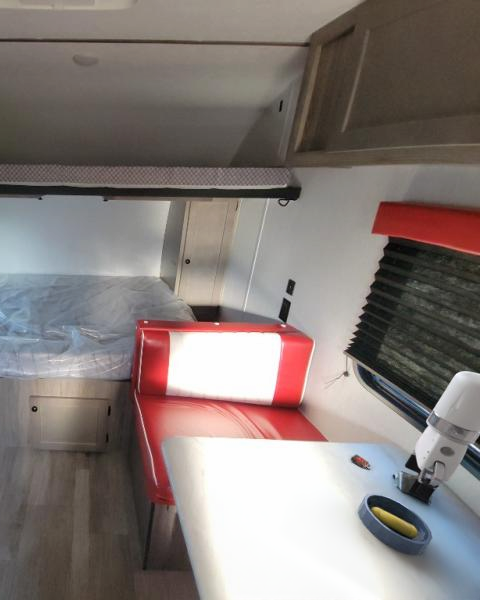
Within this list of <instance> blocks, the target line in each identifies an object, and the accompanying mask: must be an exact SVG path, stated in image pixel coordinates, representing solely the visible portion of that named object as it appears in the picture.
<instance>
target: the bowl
mask: <svg viewBox="0 0 480 600" xmlns="http://www.w3.org/2000/svg"><path fill="white" fill-rule="evenodd" d="M373 507H378V508H380V509H382V510H384V511H386V512H388V513H390V514H392V515H394V516H396V517H398V518H400V519H402V520H404V521H405V522H407V523H409V524H411V525H413V526H414V527H415V528H416V529H417V531H418V535H417V537H415V538H410V537H407V536H406V535H404V534H402V533H400V532H398V531H396V530H394V529H392V528H391V527H389V526H387V525H385V524H383V523H381V522H380V521H379V520H378V519H377V518H376V517H375V516H374V515H373V513H372V512H371V511H370V510H371V508H373ZM357 513H358V516H359V519H360V521H361V523H362V524H363V525H364V526H365V527H366V529H367V530H368V531H369V532H370V533H371V534H372V535H373V536H374V537H375V538H377V539H378V540H379V541H380V542H382V543H383V544H385V545H387V546H388V547H389V548H391V549H392V550H393V549H394V550H395V551H398V552H400V553H402V554H406V555H410V556H419V555H421V554H423V553H424V552H425V551H426V549H427V548H428V546H429V545H430V544H431V543H432V540H433V534H432V531H431V529H430V528H429V526H428V524H427V523H426V522H425V520H423V519H422V518H421V516H419V515H418V514H417V513H416V512H415V511H414V510H413V509H411V508H410V507H408V506H407V505H406V504H403V503H402V502H400V501H399V500H397V499H394V498H393V497H391V496H387V495H384V494H382V493H377V492H376V493H375V492H372V493H367V494H365V496H364V497H363V499H362V501H361V502H360V504H359V506H358V508H357Z"/></svg>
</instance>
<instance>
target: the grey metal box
mask: <svg viewBox="0 0 480 600" xmlns="http://www.w3.org/2000/svg"><path fill="white" fill-rule="evenodd" d="M419 476H420V474H419V473H417V475H416V474H412V473H408V472H405V471H402V470H395V473H394V474H392V477H393V478H394V482H395V487H396V488H399V490H400V491H401V492H403V493H407V494H410V493H409V488H410V487H411V485H412V484H413V482H414V481H415V479H416V478H417V479H419ZM425 478H431V476H430V475H429V474H426V475H425ZM432 495H433V494H432ZM432 495H431V497H430V498H429V499H428V501H426V502H427V503H428V504H429V505H431V504H432V497H433V496H432Z"/></svg>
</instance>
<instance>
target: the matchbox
mask: <svg viewBox="0 0 480 600" xmlns="http://www.w3.org/2000/svg"><path fill="white" fill-rule="evenodd" d="M350 460H351V461H352V462H353V463H355V464H357V465H358V466H360V467H361V468H366V467H367V465H368V466H370V465H369V464H371V462H370V461H368V460H367V459H365V458H364V457H362V456H361V455H359V454H357V453H356V454H354V455H353V456H351V458H350ZM367 470H370V469H369V468H368V469H367Z"/></svg>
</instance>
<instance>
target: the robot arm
mask: <svg viewBox="0 0 480 600" xmlns="http://www.w3.org/2000/svg"><path fill="white" fill-rule="evenodd" d="M425 422H426V424H427V427H426V428H425V429H424V431H423V433H422V434H421V435H420V437H419V438H418V440H417V442H416V443H415V445H414V446H415V447H414V449H413V451H412V453H411V454H410V456H409V458H408V459H407V460H406V462H405V464H404V468H405V469H408V470H410V471H412V472H414V473H417V474H418V473H419V474H420V476H419V479H417V478H416V479H415V481H414V482H413V484H412V485H411V487H410V488H409V493H408V494H410V495H413V496H414V497H417V498H419V499H421V500H423V501H425V502H427V501H428V499H429V498H430V497H431V495H434V492H435V491H436V490H437V489H438V488H440V485H441V484H442V483H443V481H444V482H449V481H450V480H451V479H452V477H453V475H454V474H455V473H456V471H457V469H458V467H459V466H460V464H461V462H462V461H463V459H464V457H465V455H466V453H467V450H468V447H469V445H473V444H475V443H476V441H477V439H478V438H479V437H480V373H478V372H473V371H466V370H465V371H459V372H457V373H456V374H455V375H454V376H453V377H452V379H451V380H450V382H449V384H448V385H447V387H446V389H445V390H444V392H443V393H442V395H441V396H440V398H439V400H438V401H437V402H436V404H435V406H434V408H433V409H432V410H431V412H430V414H429V415H428V417H427V419H426V421H425ZM425 475H428V476H430V478H425ZM431 498H432V497H431Z"/></svg>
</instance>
